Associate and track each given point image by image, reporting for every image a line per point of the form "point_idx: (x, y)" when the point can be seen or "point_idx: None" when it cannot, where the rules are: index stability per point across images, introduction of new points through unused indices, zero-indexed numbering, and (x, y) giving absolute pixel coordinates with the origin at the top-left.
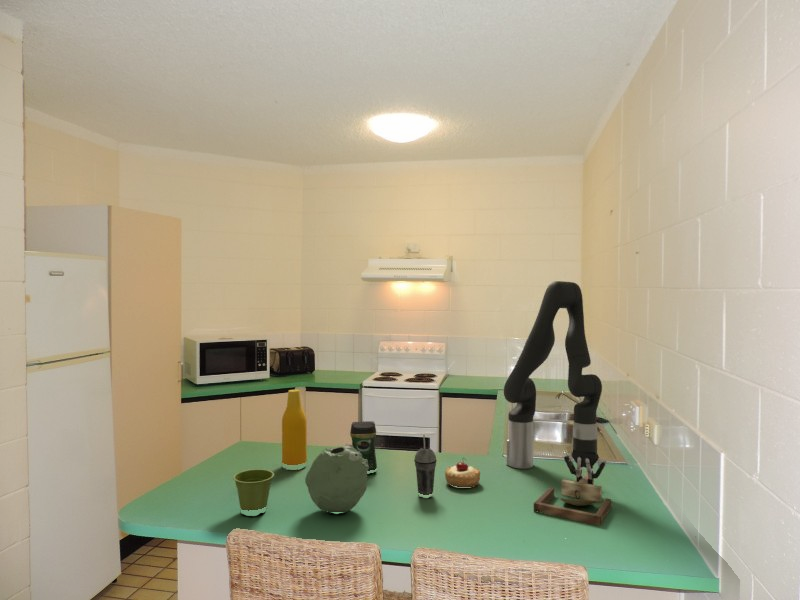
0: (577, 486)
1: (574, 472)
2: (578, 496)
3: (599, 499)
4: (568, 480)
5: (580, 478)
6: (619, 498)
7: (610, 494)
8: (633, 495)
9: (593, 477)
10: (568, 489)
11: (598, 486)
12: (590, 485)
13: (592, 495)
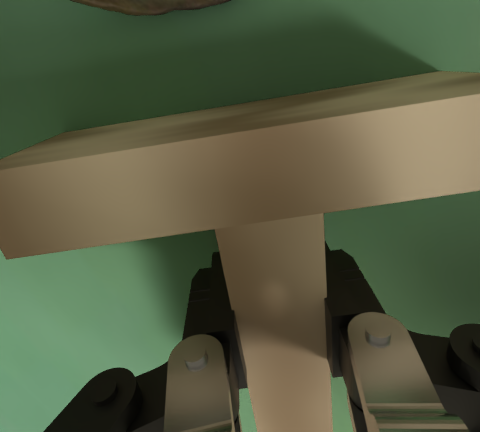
0: (296, 115)
1: (452, 362)
2: (268, 101)
3: (54, 136)
4: (469, 181)
5: (328, 311)
6: (27, 304)
7: (115, 328)
8: (12, 388)
9: (158, 377)
10: (400, 89)
11: (27, 232)
12: (128, 201)
13: (113, 130)
